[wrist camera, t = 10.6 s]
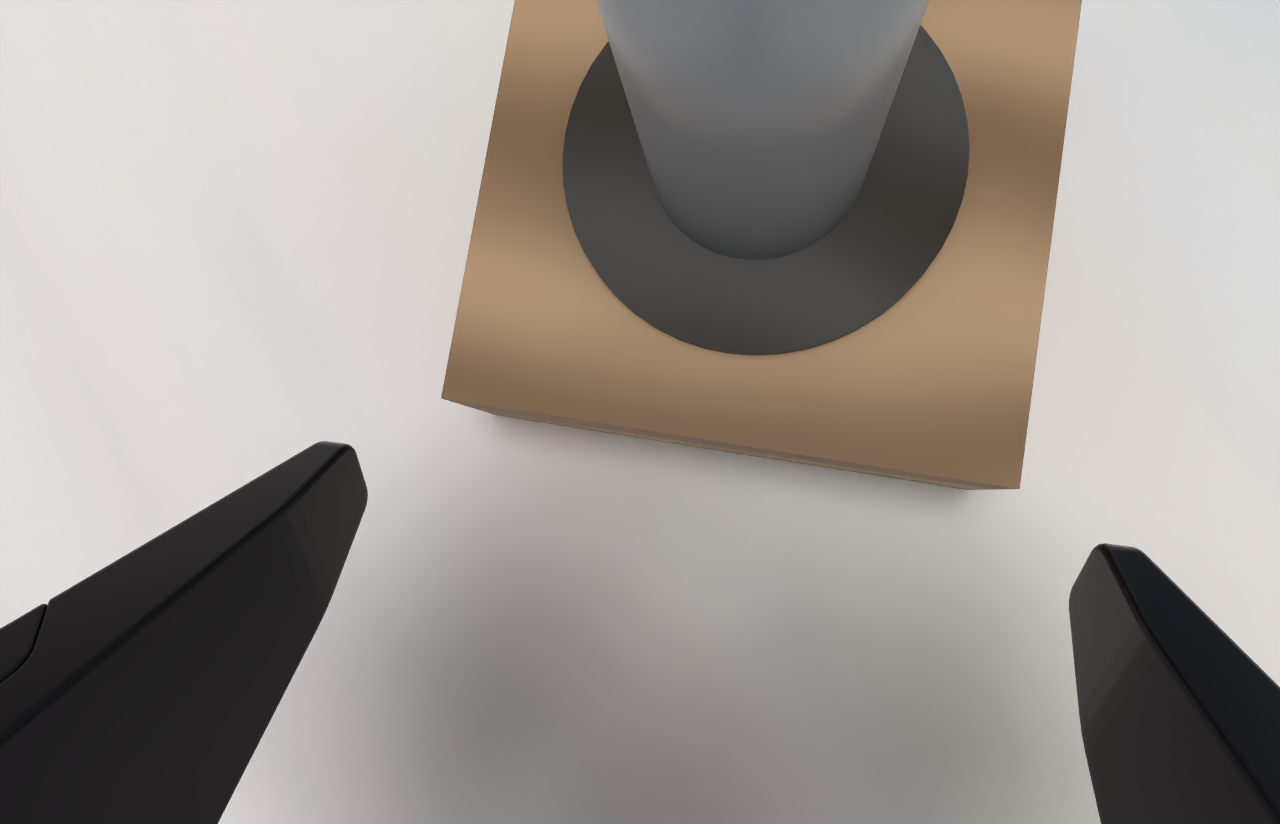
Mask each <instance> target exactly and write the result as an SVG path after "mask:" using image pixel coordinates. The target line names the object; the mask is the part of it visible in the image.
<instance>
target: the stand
mask: <svg viewBox="0 0 1280 824" xmlns="http://www.w3.org/2000/svg"><path fill="white" fill-rule="evenodd" d="M1081 2H1082V0H929V2H928V5H927V7H926V10H925V13H924V16H923V19H922V21H921V24H920V27H919V30H918V32H917V35H916V38H915V41H914V43H913V46H912V49H911V52H910V55H909V57H908V60H907V63H906V66H905V68H904V71H903V74H902V77H901V79H900V82H899V85H898V88H897V91H896V93H895V96H894V99H893V102H892V104H891V107H890V110H889V113H888V115H887V118H886V121H885V124H884V127H883V129H882V132H881V135H880V138H879V140H878V143H877V146H876V149H875V151H874V154H873V157H872V160H871V163H870V165H869V168H868V171H867V174H866V176H865V179H864V182H863V185H862V187H861V190H860V193H859V194H858V196H857V198H856V200H855V202H854V204H853V206H852V207H851V209H850V210H849V212H848V213H847V215H846V216H845V217H844V218H843V219H842V220H841V222H840V223H839V224H838V225H837V226H836V227H835V228H834V229H833V230H832V231H830V232H829V233H828V234H827V235H826V236H824V237H823V238H821V239H820V240H818V241H817V242H815V243H814V244H812V245H810V246H808V247H806V248H804V249H802V250H800V251H798V252H795V253H792V254H789V255H786V256H782V257H777V258H772V259H761V260H749V259H739V258H733V257H728V256H725V255H721V254H718V253H715V252H713V251H711V250H708V249H706V248H704V247H702V246H701V245H699V244H697V243H696V242H694V241H693V240H691V239H690V238H689V237H688V236H686V235H685V234H684V233H683V232H682V231H681V230H680V229H679V228H678V227H677V226H676V225H675V224H674V223H673V222H672V220H671V219H670V218H669V216H668V215H667V213H666V212H665V210H664V208H663V206H662V204H661V202H660V200H659V198H658V195H657V192H656V189H655V186H654V183H653V180H652V177H651V174H650V171H649V167H648V164H647V161H646V158H645V155H644V152H643V148H642V145H641V142H640V139H639V136H638V132H637V129H636V126H635V123H634V120H633V116H632V113H631V110H630V107H629V104H628V101H627V97H626V94H625V91H624V88H623V85H622V81H621V78H620V75H619V72H618V69H617V66H616V62H615V59H614V56H613V53H612V50H611V46H610V43H609V40H608V37H607V34H606V31H605V27H604V24H603V21H602V18H601V15H600V11H599V8H598V5H597V2H596V0H515V2H514V8H513V13H512V19H511V24H510V29H509V35H508V40H507V46H506V51H505V56H504V62H503V67H502V73H501V78H500V83H499V89H498V94H497V100H496V105H495V110H494V116H493V121H492V127H491V132H490V137H489V143H488V148H487V154H486V159H485V164H484V170H483V175H482V181H481V186H480V191H479V197H478V202H477V208H476V213H475V218H474V224H473V229H472V235H471V240H470V245H469V251H468V256H467V262H466V267H465V272H464V278H463V283H462V289H461V294H460V299H459V305H458V310H457V316H456V321H455V326H454V332H453V337H452V343H451V348H450V353H449V359H448V364H447V370H446V375H445V380H444V386H443V391H442V397H441V398H442V399H445V400H449V401H452V402H455V403H459V404H462V405H465V406H468V407H472V408H475V409H478V410H481V411H485V412H488V413H491V414H495V415H501V416H507V417H514V418H520V419H526V420H532V421H539V422H545V423H551V424H558V425H564V426H570V427H577V428H583V429H589V430H596V431H602V432H608V433H614V434H621V435H627V436H633V437H640V438H646V439H652V440H659V441H665V442H671V443H677V444H684V445H690V446H696V447H703V448H709V449H715V450H722V451H728V452H734V453H741V454H747V455H753V456H759V457H766V458H772V459H778V460H785V461H791V462H797V463H804V464H810V465H816V466H823V467H829V468H835V469H841V470H848V471H854V472H860V473H867V474H873V475H879V476H886V477H892V478H898V479H904V480H911V481H917V482H923V483H930V484H936V485H942V486H949V487H955V488H961V489H968V490H976V489H1019V488H1020V481H1021V473H1022V465H1023V457H1024V449H1025V441H1026V434H1027V426H1028V418H1029V410H1030V402H1031V394H1032V387H1033V379H1034V371H1035V363H1036V355H1037V347H1038V339H1039V332H1040V324H1041V316H1042V308H1043V300H1044V292H1045V285H1046V277H1047V269H1048V261H1049V253H1050V245H1051V238H1052V230H1053V222H1054V214H1055V206H1056V198H1057V191H1058V183H1059V175H1060V167H1061V159H1062V151H1063V144H1064V136H1065V128H1066V120H1067V112H1068V104H1069V96H1070V89H1071V81H1072V73H1073V65H1074V57H1075V49H1076V42H1077V34H1078V26H1079V18H1080V10H1081Z"/></svg>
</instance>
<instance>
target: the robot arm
mask: <svg viewBox="0 0 1280 824" xmlns="http://www.w3.org/2000/svg"><path fill="white" fill-rule="evenodd" d="M367 498H368V493H367V487H366V483H365V480H364V477H363V474H362V470H361V467H360V464H359V461H358V458H357V454H356V452H355V450H354V449H353V448H352V447H351V446H350V445H348V444H342V443H335V442H327V441H322V442H318V443H316V444H314V445H312V446H310V447H309V448H307V449H305V450H304V451H302V452H300V453H298V454H297V455H295V456H293V457H292V458H290V459H288V460H287V461H285V462H283V463H281V464H280V465H278V466H276V467H275V468H273V469H271V470H270V471H268V472H266V473H264V474H263V475H261V476H259V477H258V478H256V479H254V480H253V481H251V482H249V483H247V484H246V485H244V486H242V487H241V488H239V489H237V490H236V491H234V492H232V493H230V494H229V495H227V496H225V497H224V498H222V499H220V500H219V501H217V502H215V503H213V504H212V505H210V506H208V507H207V508H205V509H203V510H202V511H200V512H198V513H196V514H195V515H193V516H191V517H190V518H188V519H186V520H185V521H183V522H181V523H179V524H178V525H176V526H174V527H173V528H171V529H169V530H168V531H166V532H164V533H163V534H161V535H159V536H157V537H156V538H154V539H152V540H151V541H149V542H147V543H146V544H144V545H142V546H140V547H139V548H137V549H135V550H134V551H132V552H130V553H129V554H127V555H125V556H123V557H122V558H120V559H118V560H117V561H115V562H113V563H112V564H110V565H108V566H106V567H105V568H103V569H101V570H100V571H98V572H96V573H94V574H93V575H91V576H89V577H88V578H86V579H84V580H83V581H81V582H79V583H77V584H76V585H74V586H72V587H71V588H69V589H67V590H66V591H64V592H62V593H60V594H59V595H57V596H55V597H54V598H52V599H51V600H50V601H49V602H48V605H47V604H42V605H40V606H38V607H36V608H35V609H33V610H31V611H30V612H28V613H26V614H24V615H23V616H21V617H19V618H18V619H16V620H14V621H13V622H11V623H9V624H7V625H6V626H4V627H2V628H0V824H218V822H219V820H220V818H221V816H222V814H223V812H224V810H225V808H226V806H227V804H228V802H229V800H230V798H231V796H232V794H233V792H234V790H235V788H236V787H237V785H238V783H239V781H240V779H241V777H242V775H243V773H244V771H245V769H246V767H247V765H248V763H249V761H250V759H251V757H252V755H253V753H254V751H255V749H256V747H257V745H258V743H259V742H260V740H261V738H262V736H263V734H264V732H265V730H266V728H267V726H268V724H269V722H270V720H271V718H272V716H273V714H274V712H275V710H276V708H277V706H278V704H279V702H280V700H281V698H282V696H283V695H284V693H285V691H286V689H287V687H288V685H289V683H290V681H291V679H292V677H293V675H294V673H295V671H296V669H297V667H298V665H299V663H300V661H301V659H302V657H303V655H304V653H305V651H306V650H307V648H308V646H309V644H310V642H311V640H312V638H313V636H314V634H315V632H316V630H317V628H318V626H319V624H320V622H321V620H322V618H323V616H324V614H325V612H326V609H327V607H328V605H329V602H330V600H331V598H332V595H333V593H334V590H335V587H336V585H337V582H338V580H339V577H340V574H341V572H342V569H343V566H344V564H345V561H346V558H347V556H348V553H349V550H350V548H351V545H352V543H353V540H354V537H355V535H356V532H357V529H358V527H359V524H360V521H361V519H362V516H363V513H364V511H365V508H366V504H367ZM1069 613H1070V623H1071V634H1072V644H1073V655H1074V665H1075V675H1076V686H1077V696H1078V706H1079V716H1080V724H1081V732H1082V737H1083V742H1084V748H1085V753H1086V757H1087V762H1088V767H1089V771H1090V776H1091V780H1092V785H1093V789H1094V794H1095V798H1096V803H1097V807H1098V812H1099V816H1100V821H1101V824H1280V687H1279V686H1278V685H1277V684H1276V683H1275V682H1274V681H1273V680H1272V679H1271V678H1270V677H1269V676H1268V675H1267V674H1266V673H1265V672H1264V671H1263V670H1262V669H1261V668H1260V667H1259V666H1258V665H1257V664H1256V663H1255V662H1254V661H1253V660H1252V659H1251V658H1250V657H1249V656H1248V655H1247V654H1246V653H1245V652H1244V651H1243V650H1242V649H1241V648H1240V647H1239V646H1238V645H1237V644H1236V643H1235V642H1234V641H1233V640H1232V639H1231V638H1230V637H1229V636H1228V635H1227V634H1226V633H1225V632H1224V631H1223V630H1222V629H1221V628H1220V627H1219V626H1217V625H1216V624H1215V623H1214V622H1213V621H1212V620H1211V619H1210V618H1209V617H1208V616H1207V615H1206V614H1205V613H1204V612H1203V611H1202V610H1201V609H1200V608H1199V607H1198V606H1197V605H1196V604H1195V603H1194V602H1193V601H1192V600H1191V599H1190V598H1189V597H1188V596H1187V595H1186V594H1185V593H1184V592H1183V591H1182V590H1181V589H1180V588H1179V587H1178V586H1177V585H1176V584H1175V583H1174V582H1173V581H1172V580H1171V579H1170V578H1169V577H1168V576H1167V575H1166V574H1165V573H1164V572H1163V571H1162V570H1161V569H1160V568H1159V567H1158V566H1157V565H1156V564H1155V563H1154V562H1153V561H1152V560H1151V559H1150V558H1149V557H1148V556H1147V555H1146V554H1145V553H1143V552H1142V551H1141V550H1139V549H1137V548H1134V547H1128V546H1120V545H1112V544H1099V545H1097V546H1096V547H1095V548H1094V549H1093V550H1092V552H1091V553H1090V555H1089V557H1088V559H1087V561H1086V563H1085V565H1084V566H1083V568H1082V570H1081V572H1080V574H1079V576H1078V578H1077V579H1076V581H1075V583H1074V585H1073V587H1072V589H1071V593H1070V598H1069Z"/></svg>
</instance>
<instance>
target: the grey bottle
mask: <svg viewBox="0 0 1280 824" xmlns="http://www.w3.org/2000/svg"><path fill="white" fill-rule="evenodd" d="M596 2H597V5H598V8H599V11H600V15H601V18H602V21H603V24H604V27H605V31H606V34H607V37H608V40H609V43H610V46H611V50H612V53H613V56H614V59H615V62H616V66H617V69H618V72H619V75H620V78H621V81H622V85H623V88H624V91H625V94H626V97H627V101H628V104H629V107H630V110H631V113H632V116H633V120H634V123H635V126H636V129H637V132H638V136H639V139H640V142H641V145H642V148H643V152H644V155H645V158H646V161H647V164H648V167H649V171H650V174H651V177H652V180H653V183H654V186H655V189H656V192H657V195H658V198H659V200H660V202H661V204H662V206H663V208H664V210H665V212H666V213H667V215H668V216H669V218H670V219H671V220H672V222H673V223H674V224H675V225H676V226H677V227H678V228H679V229H680V230H681V231H682V232H683V233H684V234H685V235H686V236H688V237H689V238H690V239H691V240H693V241H694V242H696V243H697V244H699V245H701V246H702V247H704V248H706V249H708V250H711V251H713V252H715V253H718V254H721V255H725V256H728V257H733V258H739V259H749V260H761V259H772V258H777V257H782V256H786V255H789V254H792V253H795V252H798V251H800V250H802V249H804V248H806V247H808V246H810V245H812V244H814V243H815V242H817V241H818V240H820V239H821V238H823V237H824V236H826V235H827V234H828V233H829V232H830V231H832V230H833V229H834V228H835V227H836V226H837V225H838V224H839V223H840V222H841V220H842V219H843V218H844V217H845V216H846V215H847V213H848V212H849V210H850V209H851V207H852V206H853V204H854V202H855V200H856V198H857V196H858V194H859V193H860V190H861V187H862V185H863V182H864V179H865V176H866V174H867V171H868V168H869V165H870V163H871V160H872V157H873V154H874V151H875V149H876V146H877V143H878V140H879V138H880V135H881V132H882V129H883V127H884V124H885V121H886V118H887V115H888V113H889V110H890V107H891V104H892V102H893V99H894V96H895V93H896V91H897V88H898V85H899V82H900V79H901V77H902V74H903V71H904V68H905V66H906V63H907V60H908V57H909V55H910V52H911V49H912V46H913V43H914V41H915V38H916V35H917V32H918V30H919V27H920V24H921V21H922V19H923V16H924V13H925V10H926V7H927V5H928V2H929V0H596Z"/></svg>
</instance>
